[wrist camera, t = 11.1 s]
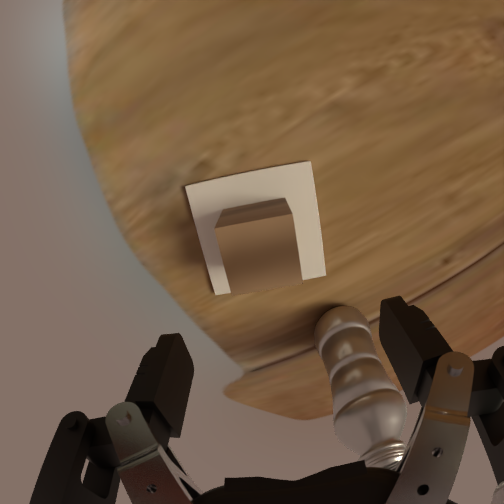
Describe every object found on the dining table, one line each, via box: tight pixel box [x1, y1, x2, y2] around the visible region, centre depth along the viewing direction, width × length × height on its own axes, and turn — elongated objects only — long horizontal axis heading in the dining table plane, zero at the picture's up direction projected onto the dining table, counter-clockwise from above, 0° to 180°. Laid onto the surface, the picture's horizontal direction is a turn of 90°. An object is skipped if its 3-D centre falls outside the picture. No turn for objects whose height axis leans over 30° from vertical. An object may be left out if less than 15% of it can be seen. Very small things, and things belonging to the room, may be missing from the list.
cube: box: [214, 198, 303, 296], centre depth 25 cm, size 6×6×6 cm
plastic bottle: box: [314, 306, 407, 471], centre depth 24 cm, size 6×7×20 cm
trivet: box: [185, 161, 326, 295], centre depth 28 cm, size 12×12×1 cm
